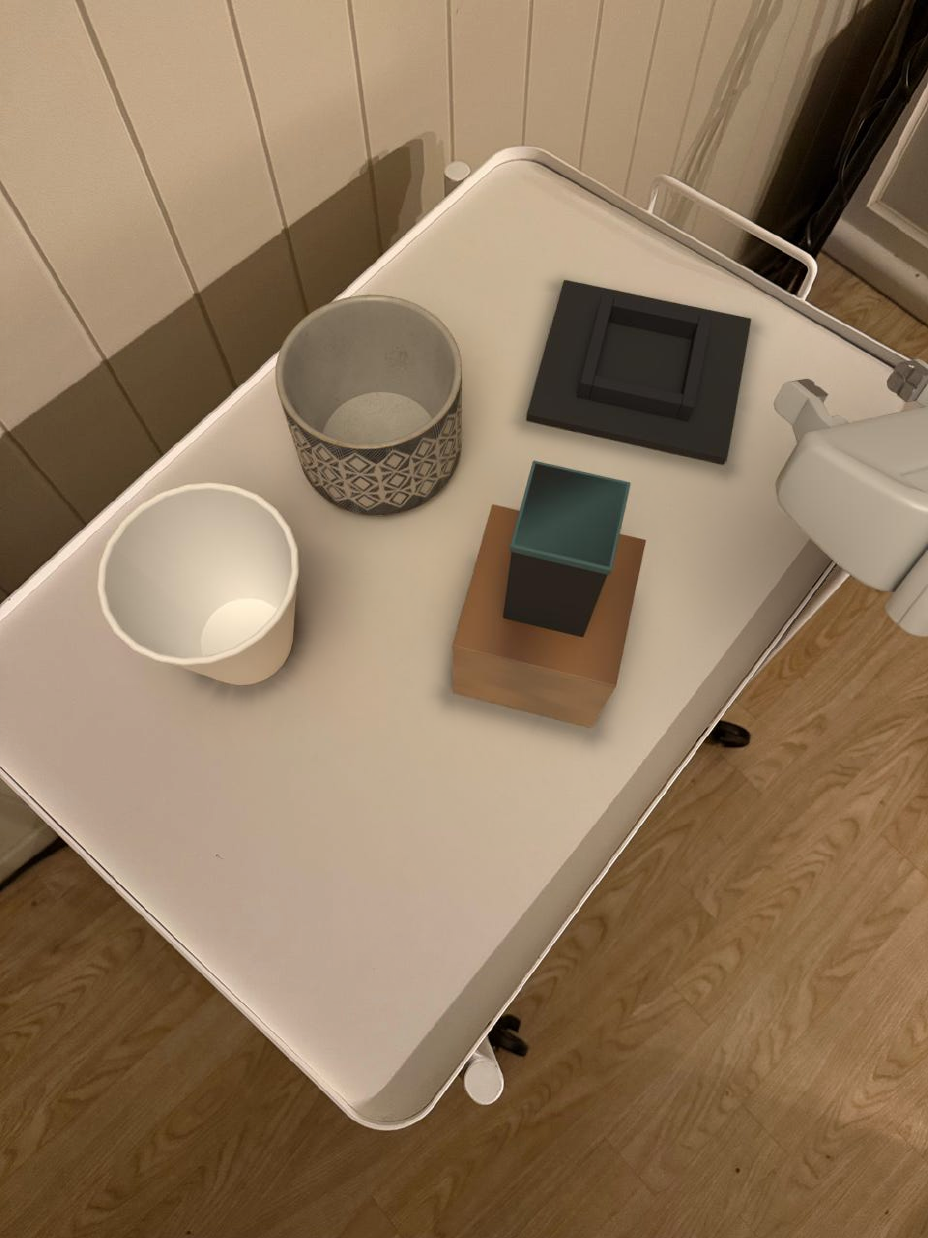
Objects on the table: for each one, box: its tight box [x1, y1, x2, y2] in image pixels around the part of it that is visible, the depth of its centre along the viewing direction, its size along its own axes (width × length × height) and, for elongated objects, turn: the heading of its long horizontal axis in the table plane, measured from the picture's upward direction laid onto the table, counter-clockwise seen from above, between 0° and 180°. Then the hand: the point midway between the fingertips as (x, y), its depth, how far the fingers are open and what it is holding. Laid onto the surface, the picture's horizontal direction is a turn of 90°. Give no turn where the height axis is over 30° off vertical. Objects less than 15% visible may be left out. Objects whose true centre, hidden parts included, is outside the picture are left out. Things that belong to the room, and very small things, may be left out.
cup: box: [97, 481, 300, 686], centre depth 57 cm, size 12×12×12 cm
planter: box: [274, 294, 463, 516], centre depth 64 cm, size 13×13×10 cm
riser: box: [452, 503, 647, 729], centre depth 58 cm, size 10×10×10 cm
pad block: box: [503, 460, 632, 637], centre depth 49 cm, size 5×5×10 cm
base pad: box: [525, 279, 752, 465], centre depth 70 cm, size 16×14×3 cm
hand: (846, 380), depth 48 cm, fingers open, 8 cm apart
